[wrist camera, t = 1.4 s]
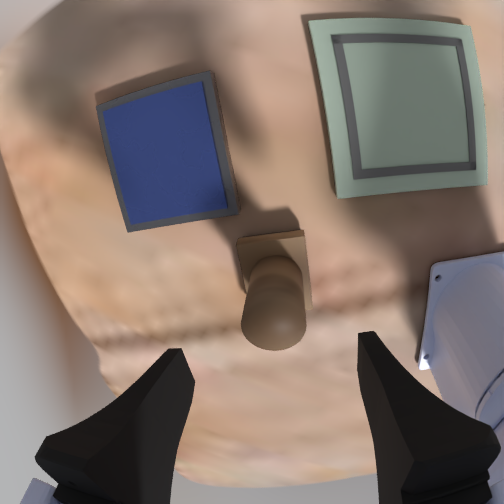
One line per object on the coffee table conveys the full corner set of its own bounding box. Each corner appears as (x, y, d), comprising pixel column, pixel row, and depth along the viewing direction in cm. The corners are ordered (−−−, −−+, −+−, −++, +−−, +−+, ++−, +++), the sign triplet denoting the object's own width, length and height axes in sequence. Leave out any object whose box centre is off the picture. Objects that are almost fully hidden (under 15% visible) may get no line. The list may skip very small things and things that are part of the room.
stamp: (311, 296, 21) (318, 359, 15) (253, 302, 21) (243, 365, 16) (303, 226, 19) (310, 276, 13) (239, 235, 19) (221, 286, 14)
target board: (482, 182, 16) (488, 185, 16) (336, 196, 18) (338, 199, 17) (465, 27, 12) (471, 25, 12) (307, 23, 14) (308, 20, 13)
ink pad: (241, 209, 19) (238, 215, 18) (134, 226, 20) (126, 233, 19) (213, 72, 16) (209, 70, 14) (104, 105, 17) (94, 106, 16)
